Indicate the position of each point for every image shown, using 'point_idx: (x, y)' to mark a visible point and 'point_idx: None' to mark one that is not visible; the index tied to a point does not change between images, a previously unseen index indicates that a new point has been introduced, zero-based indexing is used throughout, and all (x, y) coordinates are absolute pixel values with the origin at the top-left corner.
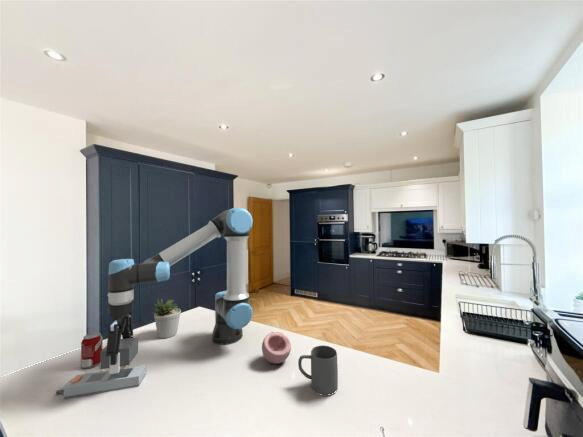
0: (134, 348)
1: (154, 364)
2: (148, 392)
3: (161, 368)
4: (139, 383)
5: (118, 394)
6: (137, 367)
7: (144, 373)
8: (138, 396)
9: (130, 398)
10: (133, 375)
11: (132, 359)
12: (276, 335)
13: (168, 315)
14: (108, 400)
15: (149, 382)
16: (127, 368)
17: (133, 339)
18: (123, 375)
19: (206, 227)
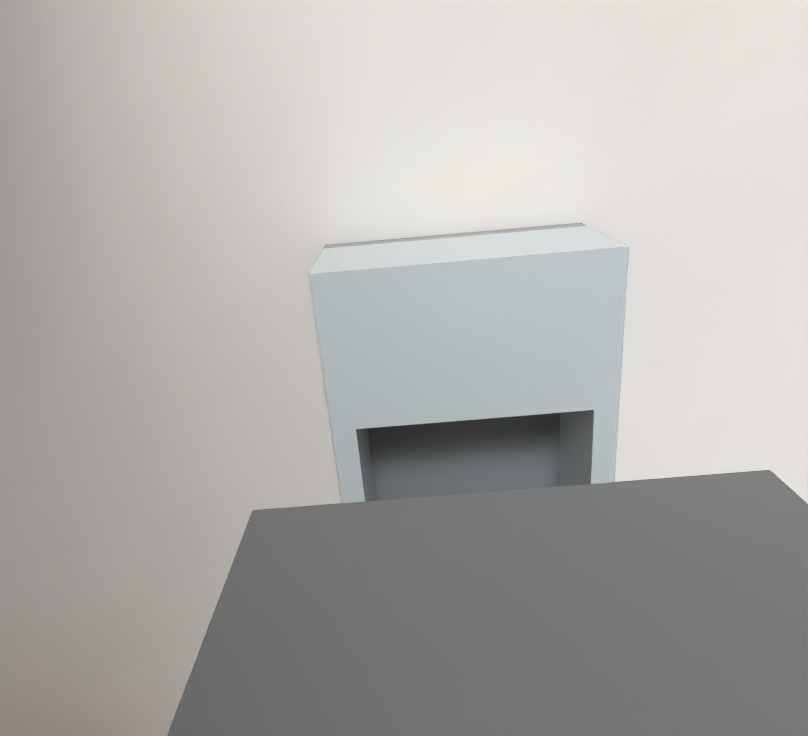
0: (518, 678)
1: (83, 219)
2: (767, 23)
3: (196, 56)
4: (561, 228)
5: (663, 387)
6: (362, 374)
7: (370, 248)
8: (799, 134)
9: (797, 220)
10: (580, 338)
11: (592, 499)
12: None
13: None
14: (731, 436)
15: (531, 107)
16: (363, 498)
17: None
18: (371, 489)
19: None
